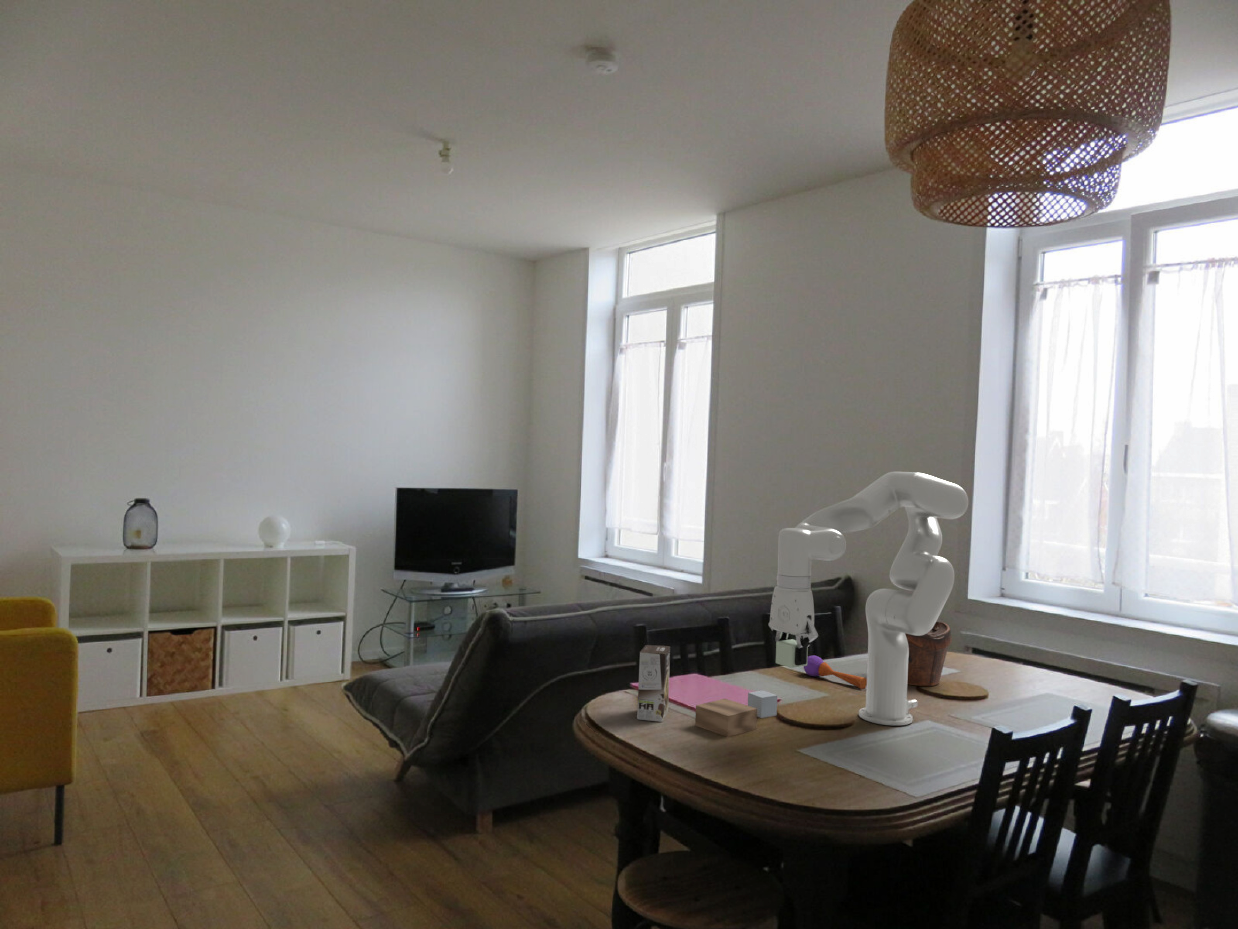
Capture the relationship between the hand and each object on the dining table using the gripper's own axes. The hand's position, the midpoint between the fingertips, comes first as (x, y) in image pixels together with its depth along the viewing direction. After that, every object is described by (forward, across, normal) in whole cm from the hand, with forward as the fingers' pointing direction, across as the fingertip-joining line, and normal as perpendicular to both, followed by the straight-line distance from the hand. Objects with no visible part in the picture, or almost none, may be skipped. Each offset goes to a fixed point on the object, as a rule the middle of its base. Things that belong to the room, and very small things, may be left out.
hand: (791, 661), depth 203 cm
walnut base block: (+17, -10, -10) cm, 22 cm away
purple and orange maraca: (+18, -29, +46) cm, 57 cm away
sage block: (+1, 0, 0) cm, 1 cm away
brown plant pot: (+18, -18, +68) cm, 73 cm away
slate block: (+17, -14, +4) cm, 22 cm away
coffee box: (+16, -25, -20) cm, 36 cm away
